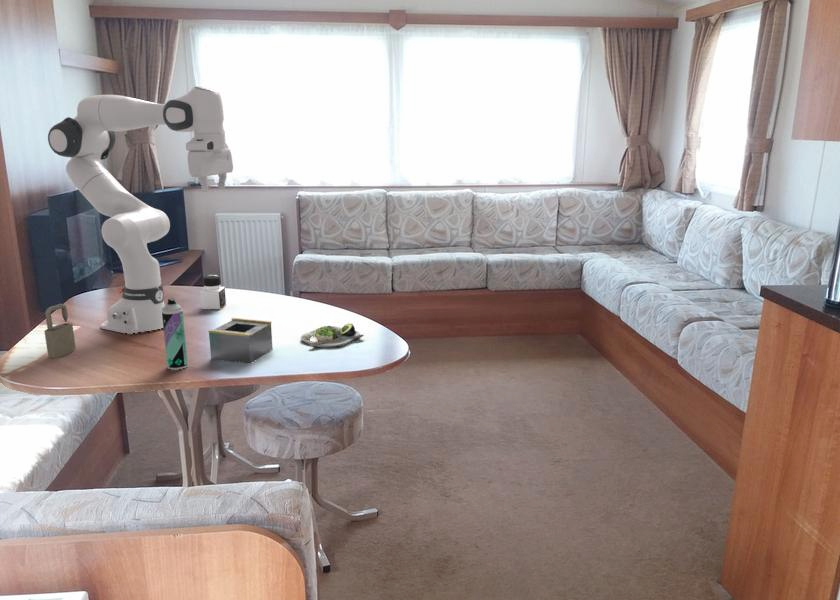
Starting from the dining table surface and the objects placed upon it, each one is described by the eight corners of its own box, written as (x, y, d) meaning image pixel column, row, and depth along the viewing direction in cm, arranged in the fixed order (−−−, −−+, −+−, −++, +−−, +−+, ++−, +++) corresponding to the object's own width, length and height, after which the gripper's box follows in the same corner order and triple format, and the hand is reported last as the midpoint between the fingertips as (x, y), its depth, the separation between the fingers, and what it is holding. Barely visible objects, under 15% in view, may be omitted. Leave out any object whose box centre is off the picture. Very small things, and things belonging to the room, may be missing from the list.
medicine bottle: (220, 310, 245) (218, 278, 242) (201, 309, 245) (198, 278, 242) (226, 304, 252) (223, 273, 249) (207, 304, 252) (204, 273, 249)
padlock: (78, 349, 203) (71, 302, 199) (57, 358, 196) (49, 309, 192) (67, 348, 204) (60, 301, 200) (46, 357, 197) (38, 308, 193)
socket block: (210, 359, 195) (208, 330, 193) (235, 345, 208) (232, 317, 205) (250, 364, 192) (248, 334, 189) (273, 349, 204) (271, 321, 202)
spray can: (170, 363, 192) (163, 296, 186) (190, 363, 192) (183, 296, 187) (165, 370, 186) (158, 301, 181) (185, 370, 187) (178, 301, 182)
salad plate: (330, 355, 200) (330, 341, 198) (287, 345, 209) (286, 331, 208) (369, 338, 215) (369, 324, 214) (327, 329, 225) (327, 316, 223)
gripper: (218, 142, 210) (221, 186, 214) (182, 144, 191) (186, 193, 195) (236, 142, 209) (239, 186, 212) (202, 144, 190) (206, 193, 193)
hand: (213, 190), depth 203 cm, fingers open, 8 cm apart
